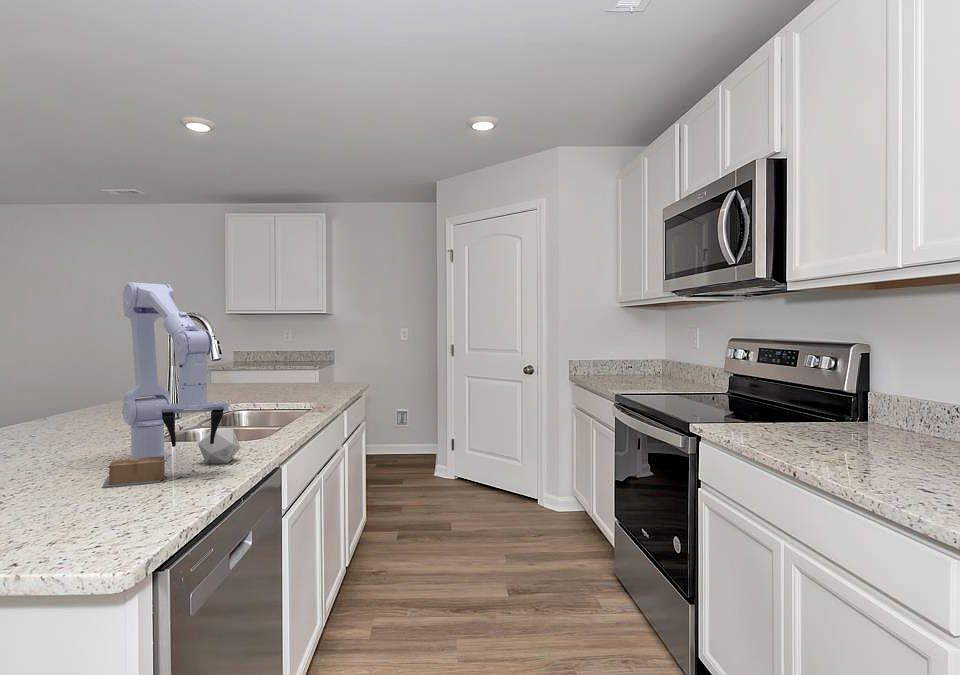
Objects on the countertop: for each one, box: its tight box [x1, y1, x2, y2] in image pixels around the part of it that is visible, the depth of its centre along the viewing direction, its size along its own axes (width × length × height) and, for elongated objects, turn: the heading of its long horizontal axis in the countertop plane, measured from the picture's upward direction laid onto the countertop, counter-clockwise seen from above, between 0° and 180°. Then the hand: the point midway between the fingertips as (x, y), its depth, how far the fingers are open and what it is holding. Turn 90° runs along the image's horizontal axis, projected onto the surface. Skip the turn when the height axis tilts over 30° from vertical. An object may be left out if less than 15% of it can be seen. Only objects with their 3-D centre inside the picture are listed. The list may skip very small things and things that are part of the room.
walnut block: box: [108, 456, 165, 485], centre depth 128 cm, size 6×4×10 cm
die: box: [197, 428, 241, 464], centre depth 146 cm, size 8×9×10 cm
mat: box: [101, 476, 162, 489], centre depth 128 cm, size 9×11×1 cm
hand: (193, 444), depth 133 cm, fingers open, 7 cm apart
